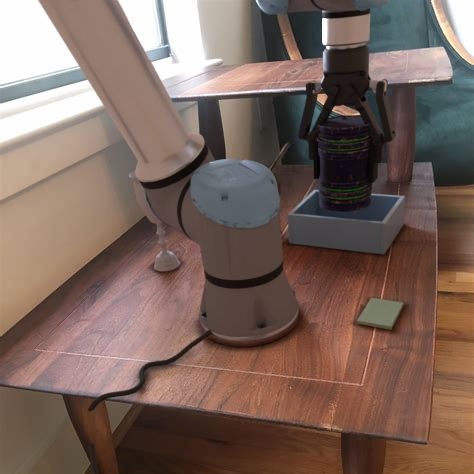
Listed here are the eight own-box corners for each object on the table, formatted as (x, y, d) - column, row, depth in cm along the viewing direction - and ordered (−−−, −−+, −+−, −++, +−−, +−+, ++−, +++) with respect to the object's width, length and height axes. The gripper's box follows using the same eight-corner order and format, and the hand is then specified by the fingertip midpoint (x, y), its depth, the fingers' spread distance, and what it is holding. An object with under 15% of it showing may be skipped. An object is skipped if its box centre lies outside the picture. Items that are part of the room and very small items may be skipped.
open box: (384, 254, 98) (385, 223, 95) (289, 243, 106) (287, 214, 103) (403, 225, 108) (405, 195, 105) (315, 216, 116) (314, 189, 113)
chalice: (192, 259, 105) (176, 166, 96) (174, 275, 100) (156, 179, 91) (160, 255, 108) (142, 165, 99) (141, 271, 103) (120, 178, 94)
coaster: (391, 330, 78) (391, 326, 78) (356, 323, 80) (357, 320, 80) (403, 305, 83) (403, 302, 83) (371, 300, 85) (371, 297, 85)
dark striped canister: (375, 210, 99) (378, 125, 91) (320, 214, 100) (319, 130, 92) (367, 192, 107) (369, 113, 100) (317, 195, 108) (315, 117, 101)
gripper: (421, 38, 87) (411, 175, 99) (292, 45, 97) (297, 169, 109) (410, 45, 82) (401, 189, 93) (274, 51, 92) (281, 181, 104)
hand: (345, 178), depth 101 cm, fingers closed on dark striped canister, 10 cm apart
